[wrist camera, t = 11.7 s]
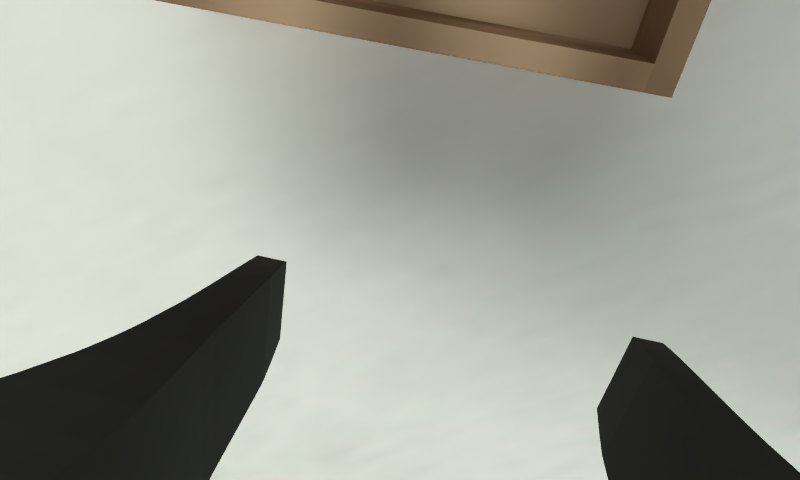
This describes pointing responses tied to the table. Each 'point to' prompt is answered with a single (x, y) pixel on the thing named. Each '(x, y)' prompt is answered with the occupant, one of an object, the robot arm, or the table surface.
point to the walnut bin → (512, 32)
